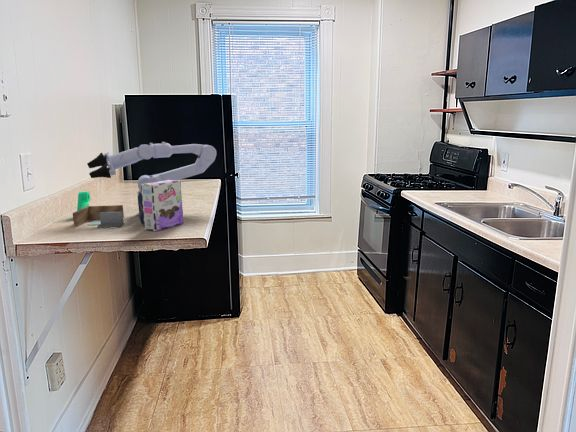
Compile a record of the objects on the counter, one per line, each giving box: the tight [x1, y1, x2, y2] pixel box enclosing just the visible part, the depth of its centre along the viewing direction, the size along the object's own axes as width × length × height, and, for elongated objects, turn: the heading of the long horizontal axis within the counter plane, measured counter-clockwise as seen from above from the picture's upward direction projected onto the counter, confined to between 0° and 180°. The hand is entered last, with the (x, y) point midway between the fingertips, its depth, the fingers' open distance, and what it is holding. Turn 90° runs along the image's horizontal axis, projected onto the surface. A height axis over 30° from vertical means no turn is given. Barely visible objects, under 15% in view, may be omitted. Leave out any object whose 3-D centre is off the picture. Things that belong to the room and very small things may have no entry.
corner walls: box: [72, 204, 125, 228], centre depth 172 cm, size 14×14×5 cm
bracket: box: [96, 211, 125, 229], centre depth 164 cm, size 8×5×5 cm, turn 94°
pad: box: [87, 219, 101, 226], centre depth 172 cm, size 9×5×1 cm, turn 4°
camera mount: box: [76, 191, 91, 211], centre depth 184 cm, size 12×8×10 cm, turn 8°
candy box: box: [141, 180, 184, 232], centre depth 160 cm, size 14×6×16 cm, turn 148°
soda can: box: [137, 191, 144, 226], centre depth 167 cm, size 7×7×12 cm
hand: (89, 170), depth 176 cm, fingers open, 7 cm apart
